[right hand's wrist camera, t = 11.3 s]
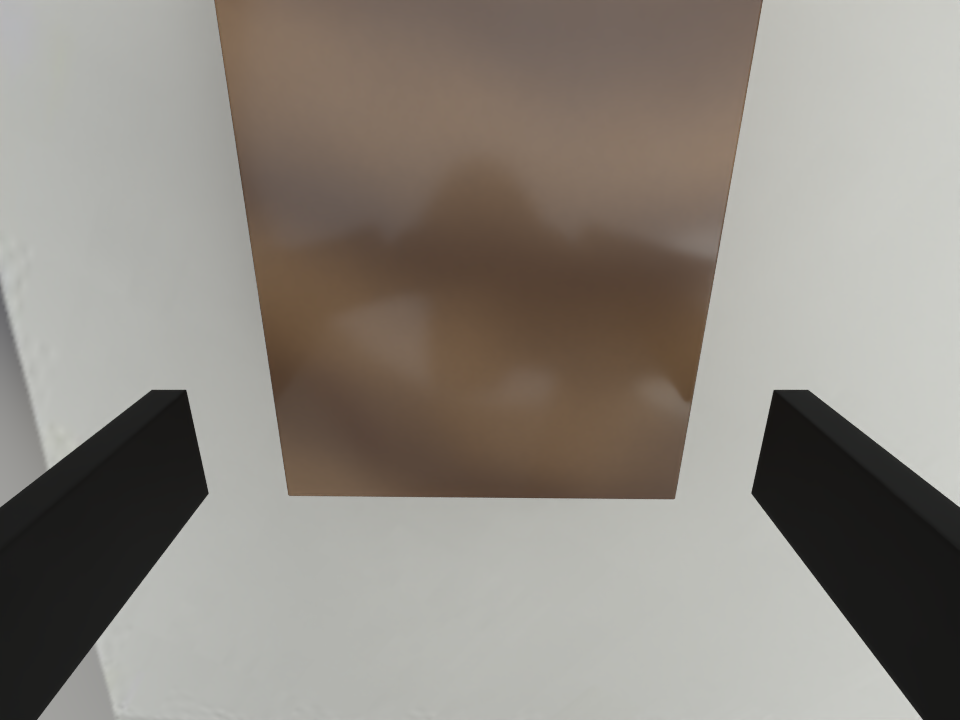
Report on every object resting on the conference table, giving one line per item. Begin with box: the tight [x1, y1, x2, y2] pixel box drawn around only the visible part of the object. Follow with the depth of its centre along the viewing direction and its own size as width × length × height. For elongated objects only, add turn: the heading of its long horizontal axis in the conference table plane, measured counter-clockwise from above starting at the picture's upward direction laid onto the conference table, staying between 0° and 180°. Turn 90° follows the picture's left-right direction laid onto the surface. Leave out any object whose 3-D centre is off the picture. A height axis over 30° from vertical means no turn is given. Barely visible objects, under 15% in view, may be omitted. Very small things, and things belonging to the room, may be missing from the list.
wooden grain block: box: [214, 0, 763, 499], centre depth 17 cm, size 15×11×9 cm
